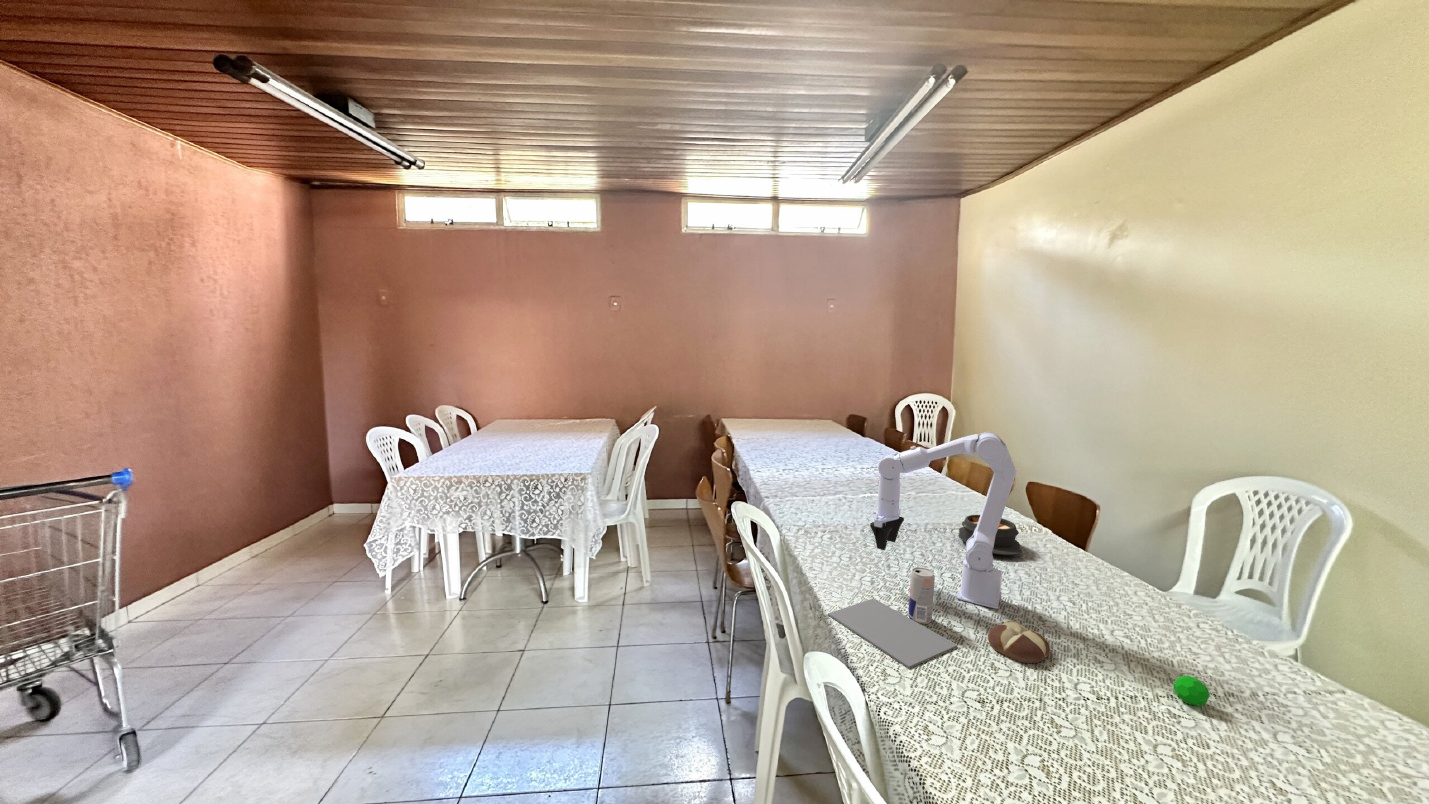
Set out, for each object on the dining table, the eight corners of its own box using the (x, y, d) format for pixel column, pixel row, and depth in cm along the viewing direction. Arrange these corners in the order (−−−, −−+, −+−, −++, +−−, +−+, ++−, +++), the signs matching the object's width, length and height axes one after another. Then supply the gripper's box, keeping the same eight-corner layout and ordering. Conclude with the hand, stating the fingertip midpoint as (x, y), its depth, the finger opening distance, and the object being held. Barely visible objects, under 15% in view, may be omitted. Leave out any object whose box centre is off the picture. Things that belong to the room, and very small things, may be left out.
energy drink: (914, 610, 130) (917, 565, 128) (935, 619, 126) (938, 572, 125) (904, 618, 126) (907, 571, 125) (926, 627, 122) (929, 578, 121)
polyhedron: (1214, 708, 96) (1217, 684, 96) (1196, 713, 95) (1199, 689, 94) (1183, 691, 101) (1186, 668, 100) (1165, 695, 99) (1168, 672, 99)
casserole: (945, 531, 187) (947, 508, 186) (998, 533, 186) (1000, 510, 185) (976, 559, 162) (978, 533, 162) (1037, 562, 162) (1039, 536, 161)
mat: (873, 600, 135) (873, 598, 135) (957, 647, 114) (957, 645, 114) (827, 615, 127) (827, 613, 127) (908, 668, 106) (908, 666, 106)
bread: (978, 642, 117) (980, 621, 116) (1013, 632, 121) (1015, 612, 121) (1025, 671, 106) (1027, 648, 106) (1061, 659, 111) (1063, 637, 110)
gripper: (884, 490, 153) (882, 534, 154) (864, 501, 142) (862, 548, 143) (908, 495, 148) (906, 540, 150) (889, 506, 137) (887, 555, 139)
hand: (886, 545), depth 146 cm, fingers open, 7 cm apart
